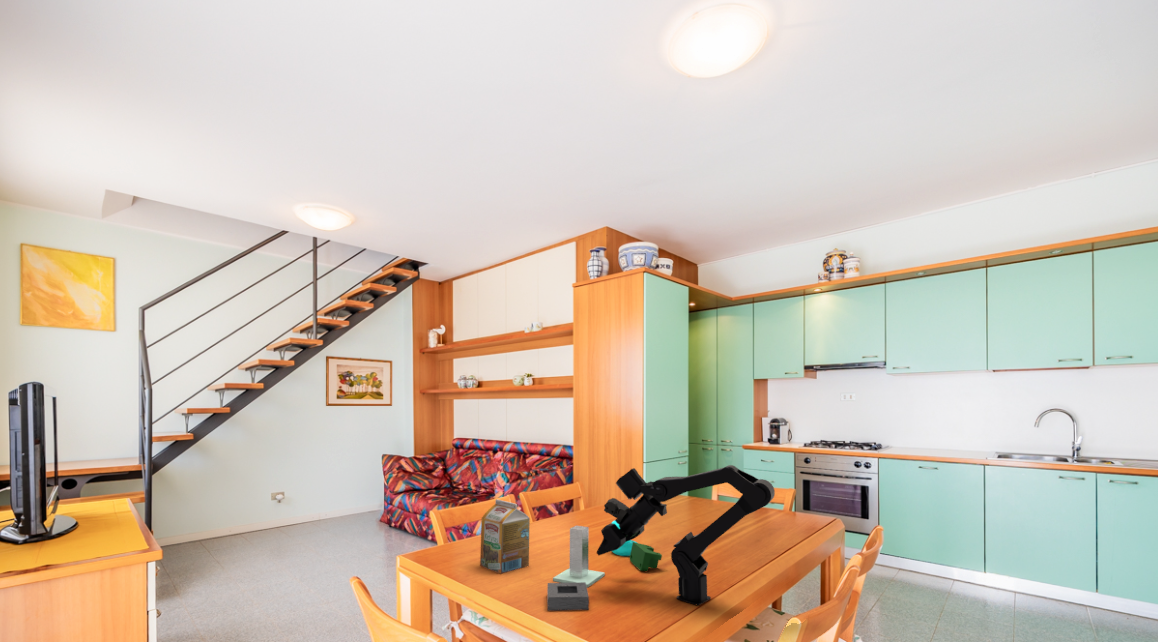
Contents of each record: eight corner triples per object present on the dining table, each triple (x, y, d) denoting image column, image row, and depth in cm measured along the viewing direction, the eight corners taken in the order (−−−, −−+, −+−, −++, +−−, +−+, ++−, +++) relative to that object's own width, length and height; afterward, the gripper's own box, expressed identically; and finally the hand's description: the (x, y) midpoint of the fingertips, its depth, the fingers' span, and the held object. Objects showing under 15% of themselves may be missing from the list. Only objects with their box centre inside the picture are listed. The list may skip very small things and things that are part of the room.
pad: (604, 575, 152) (604, 572, 153) (587, 587, 143) (587, 584, 143) (571, 569, 157) (571, 566, 158) (552, 580, 148) (553, 577, 148)
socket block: (585, 594, 138) (585, 582, 138) (588, 609, 128) (588, 596, 128) (547, 595, 137) (547, 583, 138) (547, 610, 127) (547, 597, 128)
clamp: (654, 585, 157) (665, 560, 155) (636, 581, 156) (646, 556, 154) (645, 558, 169) (654, 534, 167) (628, 554, 168) (637, 530, 166)
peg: (588, 574, 151) (588, 527, 153) (581, 578, 148) (582, 530, 149) (576, 572, 153) (576, 525, 155) (569, 576, 149) (569, 528, 151)
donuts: (621, 526, 170) (605, 520, 178) (621, 558, 168) (605, 550, 177) (646, 523, 174) (629, 517, 183) (646, 554, 173) (629, 547, 182)
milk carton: (480, 565, 161) (482, 501, 163) (507, 558, 168) (509, 497, 171) (500, 574, 153) (502, 506, 156) (528, 566, 161) (529, 501, 163)
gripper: (633, 484, 156) (600, 519, 159) (607, 495, 140) (571, 533, 143) (659, 515, 151) (624, 550, 155) (636, 529, 135) (597, 568, 138)
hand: (604, 549), depth 148 cm, fingers open, 9 cm apart
